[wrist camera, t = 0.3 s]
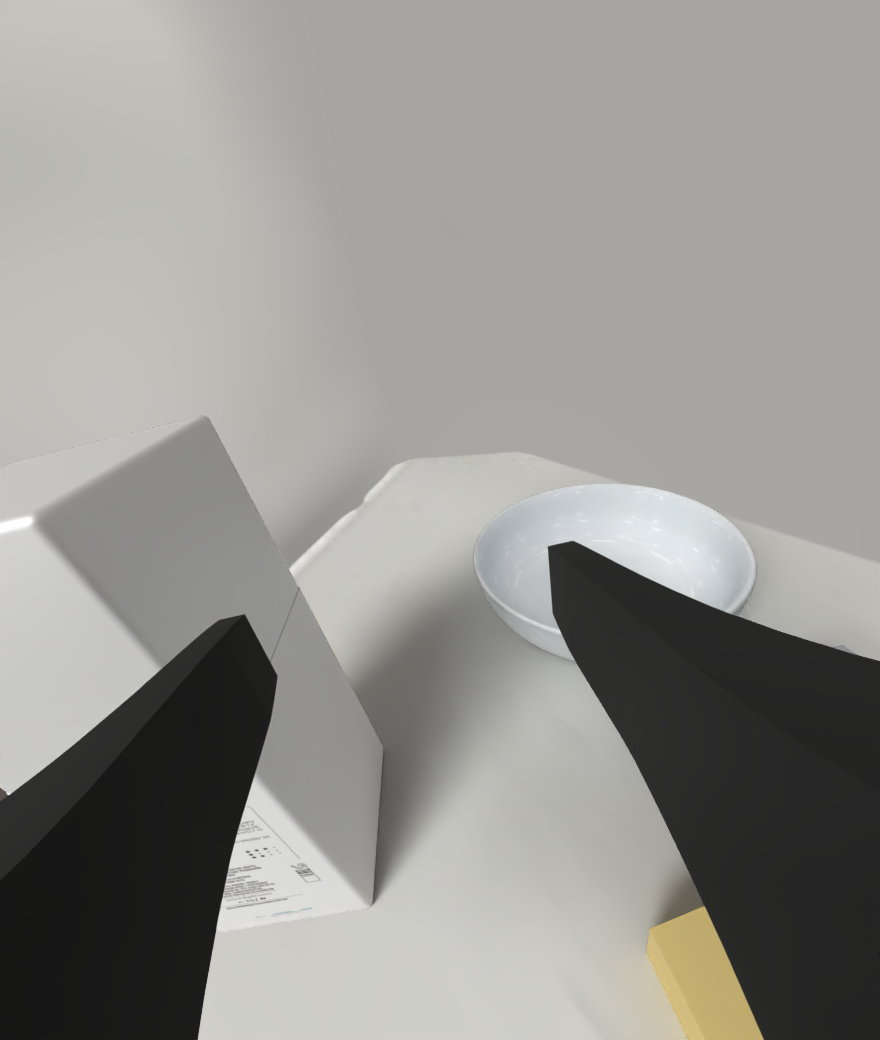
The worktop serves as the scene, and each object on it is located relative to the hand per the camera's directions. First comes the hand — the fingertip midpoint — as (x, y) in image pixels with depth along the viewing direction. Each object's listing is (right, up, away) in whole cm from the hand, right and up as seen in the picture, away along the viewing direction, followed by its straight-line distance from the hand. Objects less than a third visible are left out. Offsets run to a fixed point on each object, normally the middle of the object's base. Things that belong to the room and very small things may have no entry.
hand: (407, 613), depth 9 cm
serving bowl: (+15, -5, +27) cm, 31 cm away
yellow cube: (+12, -18, +7) cm, 23 cm away
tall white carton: (-7, -18, +16) cm, 25 cm away
